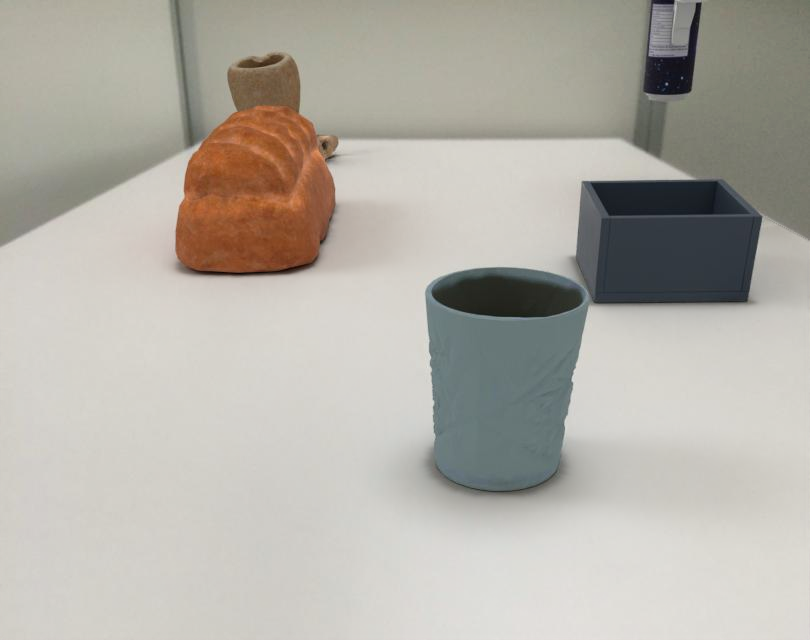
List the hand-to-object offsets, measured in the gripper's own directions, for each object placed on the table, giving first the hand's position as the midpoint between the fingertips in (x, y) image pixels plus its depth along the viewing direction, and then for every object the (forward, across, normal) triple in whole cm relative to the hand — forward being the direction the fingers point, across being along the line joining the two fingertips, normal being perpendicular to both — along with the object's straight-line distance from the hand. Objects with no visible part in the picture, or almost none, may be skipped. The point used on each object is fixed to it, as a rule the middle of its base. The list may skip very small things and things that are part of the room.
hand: (672, 41), depth 113 cm
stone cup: (+18, +28, +52) cm, 61 cm away
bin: (+18, -30, +5) cm, 35 cm away
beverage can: (+6, 0, 0) cm, 6 cm away
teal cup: (+18, -69, +23) cm, 75 cm away
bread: (+18, -12, +48) cm, 53 cm away
